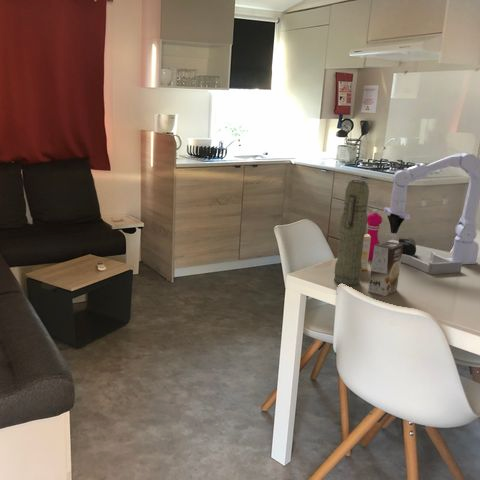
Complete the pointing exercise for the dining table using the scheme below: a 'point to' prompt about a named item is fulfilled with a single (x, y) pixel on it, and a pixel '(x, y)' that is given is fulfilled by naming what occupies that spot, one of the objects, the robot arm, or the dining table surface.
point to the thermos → (352, 233)
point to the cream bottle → (365, 251)
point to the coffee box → (385, 268)
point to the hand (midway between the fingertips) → (393, 233)
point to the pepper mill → (373, 230)
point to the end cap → (408, 246)
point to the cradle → (433, 264)
